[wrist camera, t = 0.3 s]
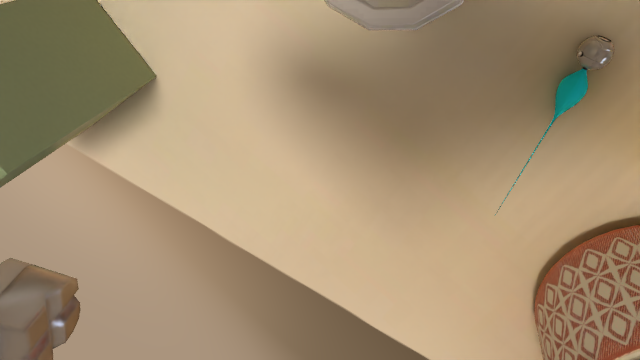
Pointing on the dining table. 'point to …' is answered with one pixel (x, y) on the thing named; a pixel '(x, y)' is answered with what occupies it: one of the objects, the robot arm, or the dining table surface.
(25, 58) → the platform
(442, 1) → the disposable coffee cup
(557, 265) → the planter
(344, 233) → the dining table surface
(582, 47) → the fishing lure
